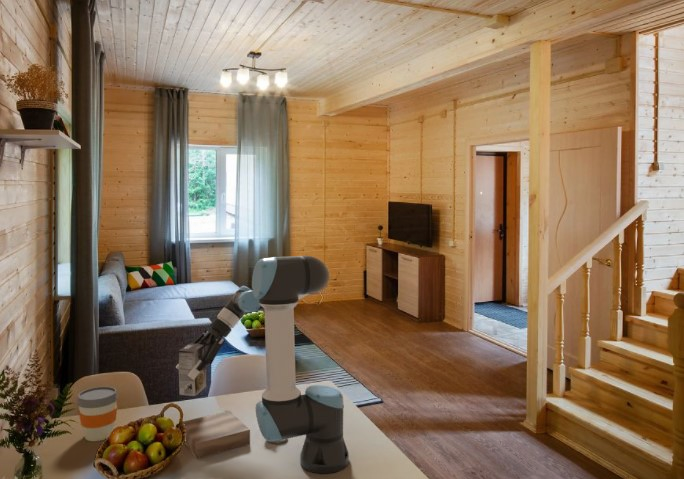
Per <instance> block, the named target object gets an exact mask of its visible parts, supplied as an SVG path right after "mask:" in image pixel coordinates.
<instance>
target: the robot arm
mask: <svg viewBox="0 0 684 479" xmlns="http://www.w3.org/2000/svg"><path fill="white" fill-rule="evenodd" d="M251 278H252V280H251V288H249V287H248V286H246V285H242V286H240V287H239V288H238V289H237V290H236V291H235V292H234V294H233V296H232V297H231V298H230V299H229V301H228V302H227V303H226V305H225V306H224V307H223V308H222V309H221V310H220V312H219V313H218V314H217V316H216V318H214V319H213V320H212V322H210V324H209V326H210V328H211V329H209V330H207V329H204V330H203V331H202V333H201V334H200V335H199V336H197V338H195V340H194V341H192V342H191V343H192V344H205V353H204V355H203V358H200V360H199V361H198V363H197V364H196V365H195V366H194V368H193V369H192V370H191V371H190V373H189V374H188V376H189V377H190V378H192V379H193V380H194V379H195V378H196V377H197V375H198V374H199V373H200V371H201V370H202V369H203V368H204V366H205V365H206V366H207V365H211V364H213V362H214V360H215V358H216V356H217V355H218V353H219V351H220V349H221V348H222V346H223V345H224V344H225V343H226V340H225V339H224V338H227V337H228V336H229V335H230V333H231V332H232V329H234V328H235V327H236V325H238V323H239V321H240V320H241V319H242V318H243V317H244V315H246V313H254V312H262V311H264V334H265V340H264V342H265V365H266V366H265V371H266V389H265V390H264V391H263V392H262V393H261V400H260V401H258V402H257V403H256V404H255V416H256V421H257V425H258V428H259V431H260V434H261V436H262V438H264V440H266V441H267V442H270V441H277V440H280V441H281V440H284V439H287V440H289V439H291V438H297V437H301V436H305V439H304V441H303V445H302V447H301V448H302V449H301V451H300V455H299V461H300V462H299V463H300V466H301V467H303V469H305V470H307V471H308V472H312V473H315V474H332V473H336V472H340V471H342V470H343V469H345V468H346V467H347V466H348V465H349V460H350V459H349V456H350V455H349V454H350V453H349V451H348V448H347V445H346V442H345V438H344V408H345V405H344V396H343V394H342V392H341V391H340V390H339V389H337V388H335V387H332V386H329V385H320V384H318V385H317V384H315V385H310V386H307V387H306V389H305V391H304V394H302V391H301V390H300V389H299V388H298V387H297V386H296V380H297V379H296V354H295V353H296V351H295V350H296V346H295V345H296V344H295V316H294V315H295V313H294V312H295V310H294V308H296V307H297V306H298V303H299V301H300V300H301V299H303V298H305V297H306V296H308V295H315V294H319V293H320V292H322V291H323V290H324V289H325V288H326V287H327V285H328V283H329V280H330V271H329V268H328V267H327V265H326V263H324V262H323V260H321V259H319V258H317V257H315V256H312V255H311V256H310V255H297V256H295V255H293V256H292V255H291V256H271V257H264V258H261V259H259V260H258V261H257V262H256V263H255V265H254V267H253V272H252V277H251ZM201 360H202V361H201ZM175 368H176V369H177V370H179V363H177V364H176V366H175Z"/></svg>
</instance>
